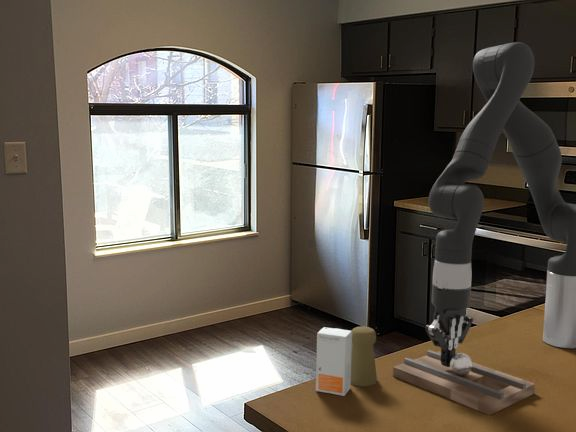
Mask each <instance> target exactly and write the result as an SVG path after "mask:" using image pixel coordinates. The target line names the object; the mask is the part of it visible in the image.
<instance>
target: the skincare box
mask: <svg viewBox="0 0 576 432" xmlns="http://www.w3.org/2000/svg"><path fill="white" fill-rule="evenodd" d="M352 346H353V343H352V330H348V329H342V328H336V327H335V328H333V327H325V326H323V327H322V328H320V330H319V331H318V332H317V333H316V360H315V361H316V363H315V364H316V366H315V370H316V371H315V391H316V392H321V393H327V394H333V395H337V396H341V397H345V396H346V395H347V393H348V392H349V391H350V389H351V386H352V384H351V353H352Z"/></svg>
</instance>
